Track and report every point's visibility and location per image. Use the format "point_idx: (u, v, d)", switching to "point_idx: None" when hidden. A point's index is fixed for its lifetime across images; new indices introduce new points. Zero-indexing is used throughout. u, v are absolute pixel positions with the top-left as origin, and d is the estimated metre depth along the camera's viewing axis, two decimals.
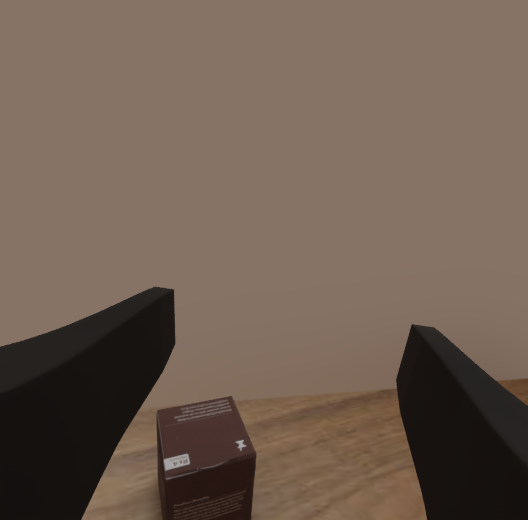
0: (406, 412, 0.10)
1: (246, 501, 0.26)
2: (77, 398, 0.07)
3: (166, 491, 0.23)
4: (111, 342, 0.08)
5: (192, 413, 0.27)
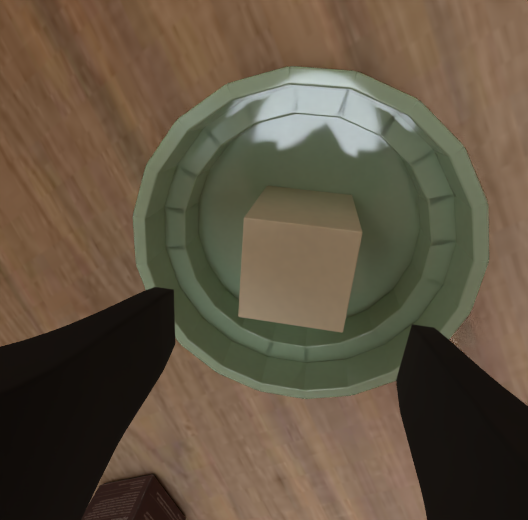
0: (406, 412, 0.10)
1: (140, 514, 0.28)
2: (77, 398, 0.07)
3: None
4: (111, 342, 0.08)
5: None
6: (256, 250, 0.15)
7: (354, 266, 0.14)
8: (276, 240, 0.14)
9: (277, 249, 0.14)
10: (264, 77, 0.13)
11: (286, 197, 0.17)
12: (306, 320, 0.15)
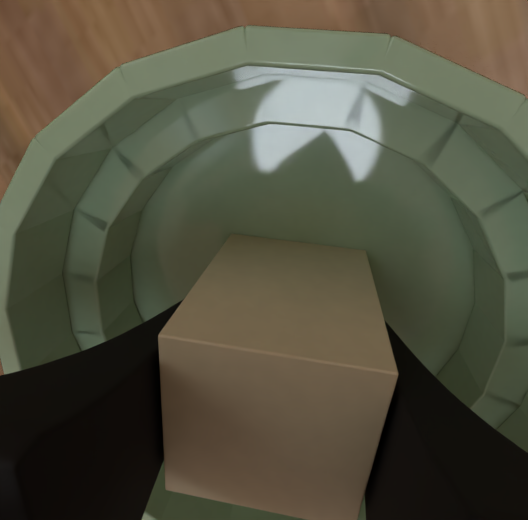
0: None
1: None
2: (139, 409, 0.07)
3: None
4: None
5: None
6: (186, 392, 0.07)
7: (379, 431, 0.07)
8: (224, 378, 0.07)
9: (227, 392, 0.07)
10: (193, 50, 0.06)
11: (257, 263, 0.10)
12: (287, 506, 0.08)
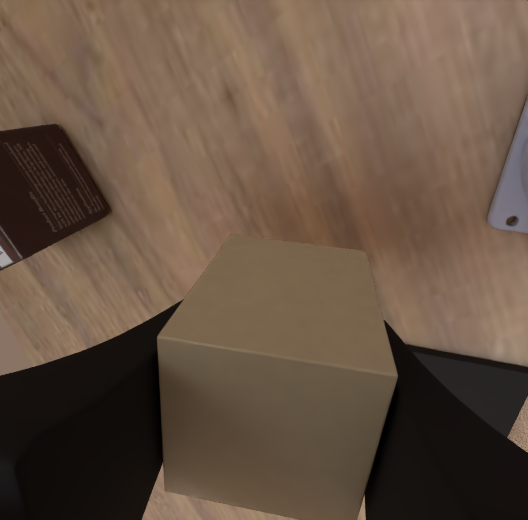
0: None
1: (21, 137, 0.19)
2: (139, 409, 0.07)
3: (39, 249, 0.18)
4: None
5: None
6: (186, 393, 0.07)
7: (379, 432, 0.07)
8: (224, 379, 0.07)
9: (227, 394, 0.07)
10: None
11: (256, 264, 0.10)
12: (286, 508, 0.08)
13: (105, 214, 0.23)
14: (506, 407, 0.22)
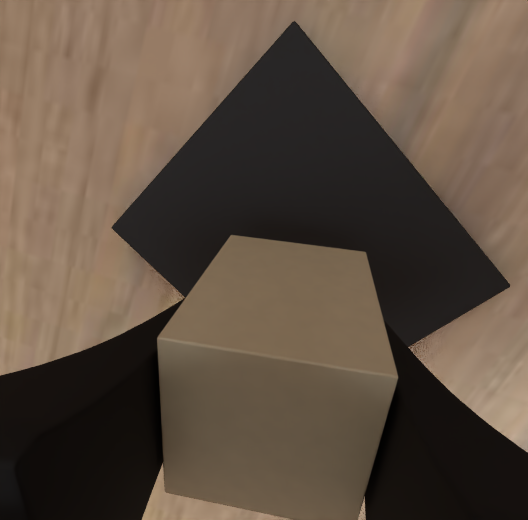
0: None
1: None
2: (139, 409, 0.07)
3: None
4: None
5: None
6: (185, 395, 0.07)
7: (379, 434, 0.07)
8: (224, 381, 0.07)
9: (226, 395, 0.07)
10: None
11: (256, 264, 0.10)
12: (286, 509, 0.08)
13: None
14: (445, 309, 0.17)
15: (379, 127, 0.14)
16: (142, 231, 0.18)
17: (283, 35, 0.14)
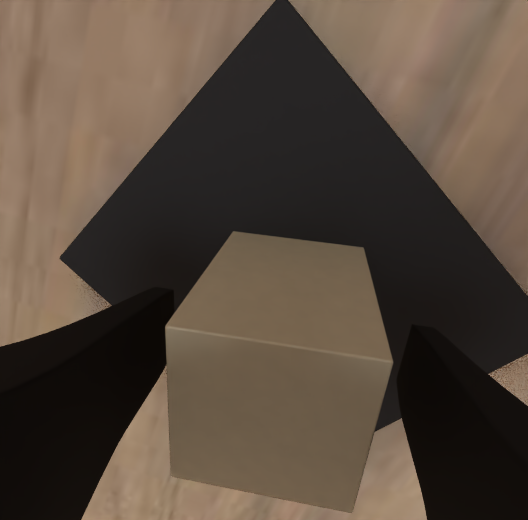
0: (406, 412, 0.10)
1: None
2: (77, 398, 0.07)
3: None
4: (111, 342, 0.08)
5: None
6: (192, 381, 0.08)
7: (375, 417, 0.07)
8: (228, 367, 0.08)
9: (231, 381, 0.08)
10: None
11: (258, 259, 0.11)
12: (287, 491, 0.09)
13: None
14: (474, 362, 0.13)
15: (395, 136, 0.11)
16: (97, 263, 0.14)
17: (267, 13, 0.10)
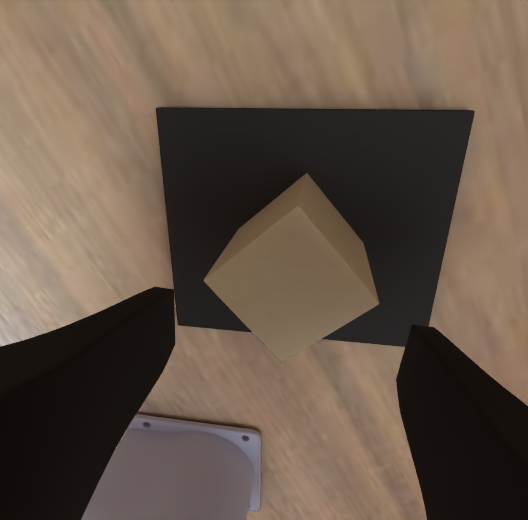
0: (406, 412, 0.10)
1: None
2: (77, 398, 0.07)
3: None
4: (111, 342, 0.08)
5: None
6: (343, 286, 0.13)
7: (258, 337, 0.14)
8: (334, 308, 0.13)
9: (327, 302, 0.13)
10: None
11: None
12: (239, 263, 0.13)
13: None
14: (185, 286, 0.21)
15: (330, 339, 0.21)
16: (439, 138, 0.16)
17: None
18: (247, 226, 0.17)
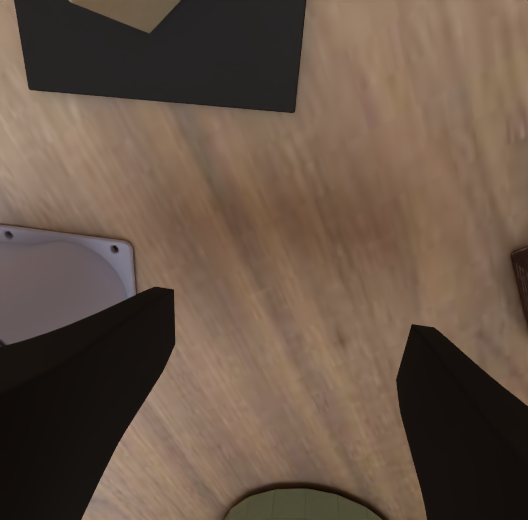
0: (406, 412, 0.10)
1: None
2: (77, 398, 0.07)
3: None
4: (111, 342, 0.08)
5: None
6: None
7: None
8: None
9: None
10: None
11: None
12: None
13: (516, 257, 0.19)
14: (32, 30, 0.18)
15: (194, 102, 0.18)
16: None
17: (293, 99, 0.18)
18: None
